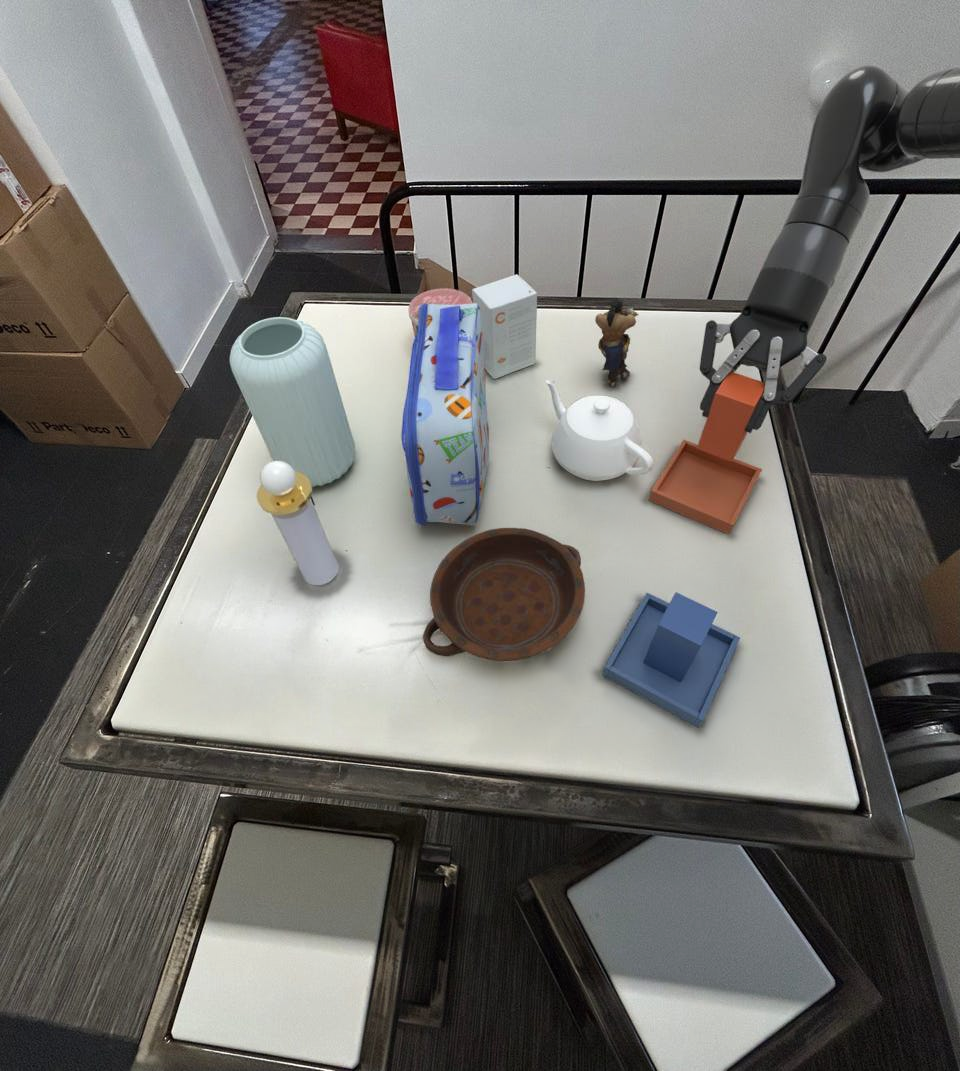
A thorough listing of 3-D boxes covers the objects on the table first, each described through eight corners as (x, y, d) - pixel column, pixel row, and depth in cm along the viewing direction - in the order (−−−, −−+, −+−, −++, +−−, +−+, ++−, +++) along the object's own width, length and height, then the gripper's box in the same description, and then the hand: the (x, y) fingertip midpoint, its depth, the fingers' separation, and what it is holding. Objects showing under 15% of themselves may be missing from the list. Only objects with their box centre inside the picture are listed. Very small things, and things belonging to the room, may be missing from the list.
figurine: (603, 399, 95) (616, 315, 83) (580, 380, 98) (590, 296, 86) (637, 382, 98) (654, 297, 85) (614, 364, 100) (627, 279, 88)
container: (401, 351, 105) (394, 310, 98) (442, 322, 109) (438, 280, 103) (447, 375, 101) (442, 333, 94) (487, 344, 105) (486, 302, 99)
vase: (264, 480, 88) (201, 352, 71) (310, 429, 94) (263, 299, 76) (330, 505, 85) (281, 377, 67) (373, 451, 91) (339, 320, 73)
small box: (517, 344, 105) (517, 272, 94) (536, 364, 101) (538, 292, 91) (475, 359, 103) (470, 288, 92) (493, 380, 99) (490, 309, 89)
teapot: (513, 439, 91) (513, 385, 83) (573, 401, 96) (579, 347, 87) (612, 518, 82) (623, 466, 73) (673, 473, 86) (690, 418, 78)
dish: (625, 610, 73) (631, 589, 69) (475, 719, 66) (473, 702, 62) (533, 520, 82) (534, 496, 78) (392, 607, 75) (385, 586, 71)
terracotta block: (744, 439, 77) (768, 383, 70) (731, 462, 75) (754, 406, 68) (709, 427, 79) (729, 370, 72) (696, 448, 77) (715, 392, 69)
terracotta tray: (757, 479, 85) (762, 468, 83) (729, 535, 79) (733, 525, 77) (680, 449, 88) (683, 439, 87) (648, 500, 83) (651, 490, 81)
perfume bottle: (347, 586, 77) (303, 480, 61) (301, 597, 76) (245, 493, 60) (341, 550, 80) (298, 440, 64) (297, 560, 80) (243, 452, 64)
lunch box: (423, 403, 97) (403, 272, 79) (488, 401, 96) (483, 269, 79) (411, 544, 80) (383, 419, 63) (490, 542, 80) (484, 416, 62)
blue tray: (735, 645, 70) (740, 637, 68) (698, 727, 65) (703, 720, 63) (643, 601, 74) (646, 592, 72) (602, 674, 69) (604, 667, 67)
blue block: (696, 651, 69) (717, 611, 62) (681, 682, 67) (701, 646, 60) (659, 632, 71) (675, 591, 63) (642, 662, 69) (658, 624, 61)
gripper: (730, 250, 67) (664, 399, 71) (868, 285, 62) (789, 444, 66) (733, 272, 74) (672, 407, 78) (858, 306, 69) (786, 448, 73)
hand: (726, 423), depth 72 cm, fingers closed on terracotta block, 4 cm apart
